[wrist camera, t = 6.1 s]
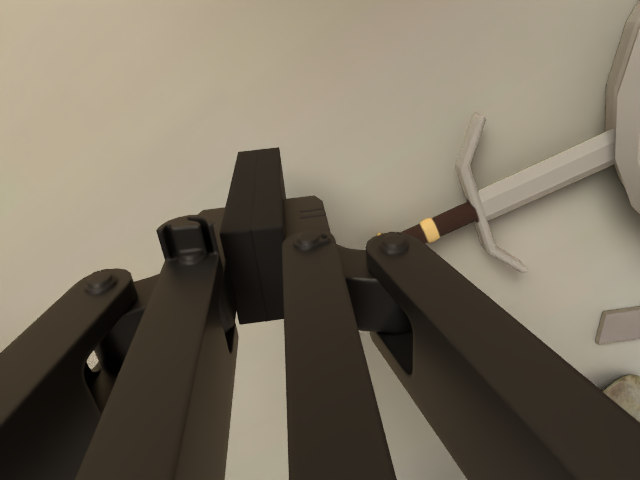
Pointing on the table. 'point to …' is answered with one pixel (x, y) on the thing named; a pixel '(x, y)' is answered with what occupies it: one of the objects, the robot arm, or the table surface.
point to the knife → (619, 325)
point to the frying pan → (554, 158)
